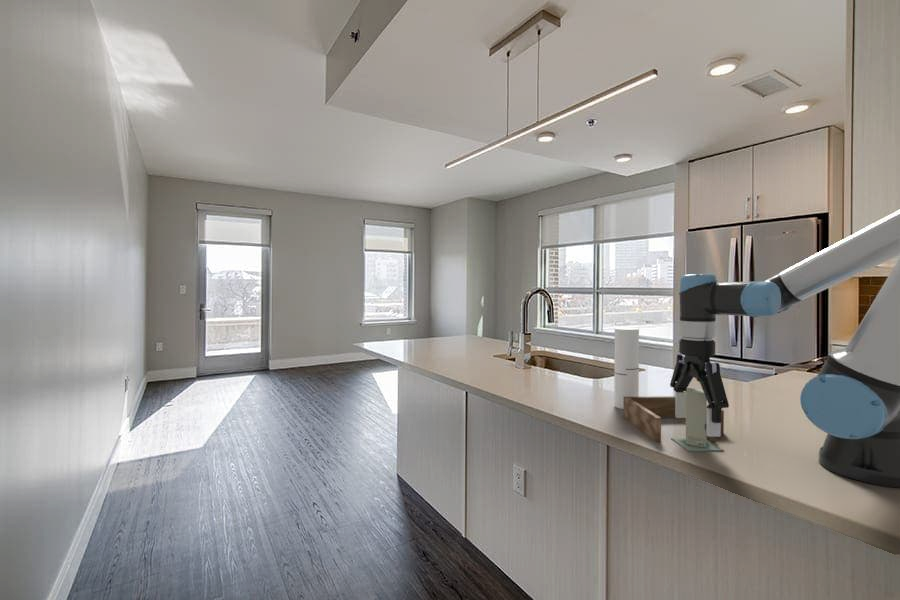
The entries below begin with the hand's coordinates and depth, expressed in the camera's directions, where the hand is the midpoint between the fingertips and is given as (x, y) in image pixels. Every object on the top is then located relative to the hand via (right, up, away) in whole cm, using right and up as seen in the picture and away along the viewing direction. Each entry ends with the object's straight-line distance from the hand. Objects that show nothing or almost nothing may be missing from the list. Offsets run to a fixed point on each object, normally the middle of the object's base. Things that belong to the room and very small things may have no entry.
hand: (696, 426), depth 102 cm
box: (0, -4, 0) cm, 4 cm away
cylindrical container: (-3, -4, +33) cm, 34 cm away
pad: (0, -4, 0) cm, 4 cm away
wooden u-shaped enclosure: (+2, -4, +12) cm, 13 cm away
